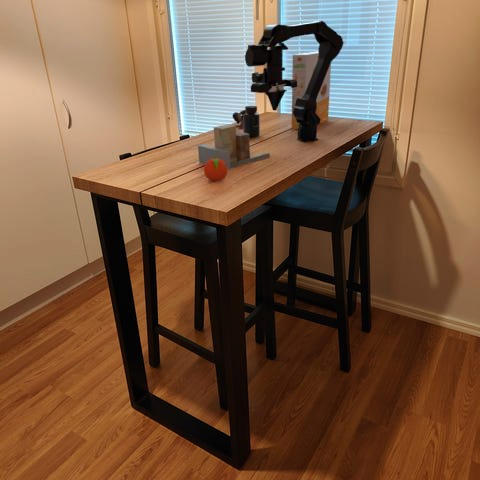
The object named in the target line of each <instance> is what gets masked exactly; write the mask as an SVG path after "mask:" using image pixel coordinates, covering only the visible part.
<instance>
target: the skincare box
mask: <svg viewBox="0 0 480 480" xmlns="http://www.w3.org/2000/svg"><path fill="white" fill-rule="evenodd" d="M236 131H237V128H236V125H233V124H223V125H222V124H221V125H217V126H215V127H213V137H214V138H213V139H214V147H216V148H219V149H223V150H227V151H230V163H233V162H237V145H236Z"/></svg>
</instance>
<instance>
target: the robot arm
mask: <svg viewBox="0 0 480 480" xmlns="http://www.w3.org/2000/svg"><path fill="white" fill-rule="evenodd" d="M308 35H309V36H310V35H313V36H314V39H315V40H316V42H317V44H319V45H318V50H317V51H318V52H319V59H318V61H317V64H316V66H315V69H314V71H313V74H312V76H311V79H310V82H309V84H308V87H307V89H306V92H305V94H304V96H303V97H302V98H297V99H296V103H295V105H294V107H293V108H294V110H293V114H294V117H295V118H296V121H297V123H300V124H299V128H298V130H297V137H296V139H297V140H300V141H301V142H304V143H305V142H313V141H319V138H318V137H317V131H318V129H317V127H318V126H319V125H321V124H320V121H321V119H320V118H319V116H318V115H317V114H316V109H317V103H316V99H317V96H318V94H319V91H320V89H321V86H322V84H323V81H324V79H325V76H326V74H327V71H328V69H329V66H330V64H331V65H332V62H333V61H334V59H335V58H337V57H338V55H339V54H340V53H341V50H342V48H343V47H344V40H343V37H342V35H340V34H338V32H336V31H335V30H334V29H333V28H332V27H329V25H327V23H326V22H325V21H324V20H314V21H313V22H306V23H298V24H293V25H288V24H268V25H266V26H265V28H264V30H263V33H262V36H261V38H260V39H259V40H258V41H259V42H258V43H257V44H248V45H247V49H246V51H245V55H244V60H245V64H246V66H247V67H262V66H265V65H266V66H265V67H264V68H263V72H262V73H259V72H253V73H251V81H252V83H251V85H250V92H251V93H257V94H258V93H259V94H265V95H266V96H267V98H268V101H269V104H270V106H271V109H272V111H277V110H278V107H279V106H280V102H281V101H282V99H283V97H284V95H285V93H286V92H287V91H288V90H287V89H285V87H290V88H291V89H292V88H295V87H297V81H296V79H292V78H283V75H284V74H283V73H284V71H286V67H283V65H284V63H283V60H284V59H283V57H284V56H283V55H284V53H283V51H286V50H287V51H288V50H289V47H288V46H287V45H286V44H285V42H287V41H289V40H291V39H292V38H297V37H302V36H308Z"/></svg>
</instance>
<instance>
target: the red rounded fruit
mask: <svg viewBox="0 0 480 480" xmlns="http://www.w3.org/2000/svg"><path fill="white" fill-rule="evenodd" d="M203 172H204V175H205V177H206V179H208V181H211V182H214V183H217V182H221V181H223V180H224V179H225V178H226V177H227V174H228V170H227V166H226V164H225V162H224V161H223V160H221V159H219V158H212V159H210V160H209V161H207V163H206V164H204V167H203Z"/></svg>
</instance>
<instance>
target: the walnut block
mask: <svg viewBox="0 0 480 480" xmlns="http://www.w3.org/2000/svg"><path fill="white" fill-rule="evenodd" d="M236 145H237V161H240V160H244V159H247V158H251V148H250V138H249V134H247V133H243V132H242V131H237V130H236Z"/></svg>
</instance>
